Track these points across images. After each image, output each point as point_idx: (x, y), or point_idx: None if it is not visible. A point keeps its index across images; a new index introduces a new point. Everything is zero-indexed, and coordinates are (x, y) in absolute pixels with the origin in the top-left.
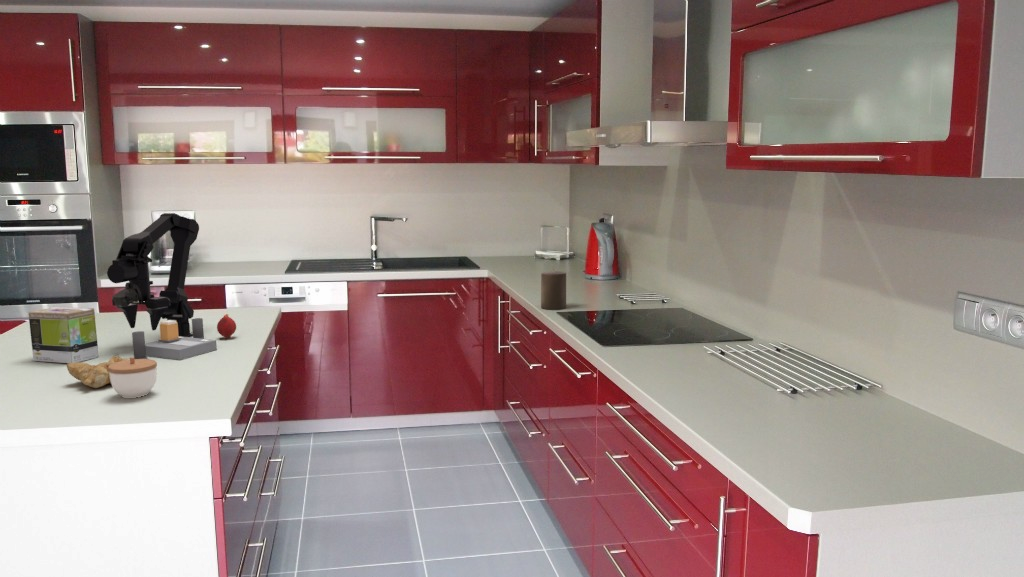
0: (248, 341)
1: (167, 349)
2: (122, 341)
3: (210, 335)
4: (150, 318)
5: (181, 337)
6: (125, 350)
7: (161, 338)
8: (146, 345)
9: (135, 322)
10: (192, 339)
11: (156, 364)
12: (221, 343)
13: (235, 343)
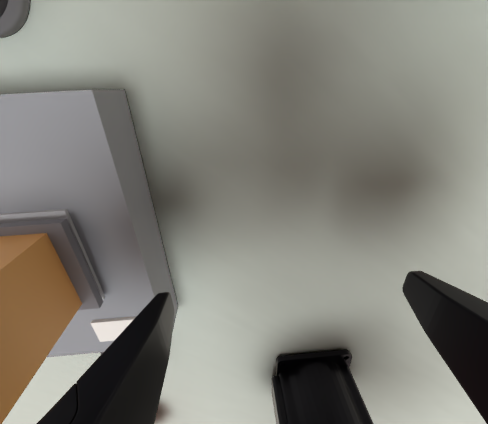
0: (30, 418)
1: None
2: (481, 255)
3: (227, 410)
4: (98, 408)
5: (97, 335)
6: (330, 139)
7: (29, 238)
8: (37, 109)
9: (427, 334)
10: None
11: None
12: (71, 379)
13: (30, 394)
